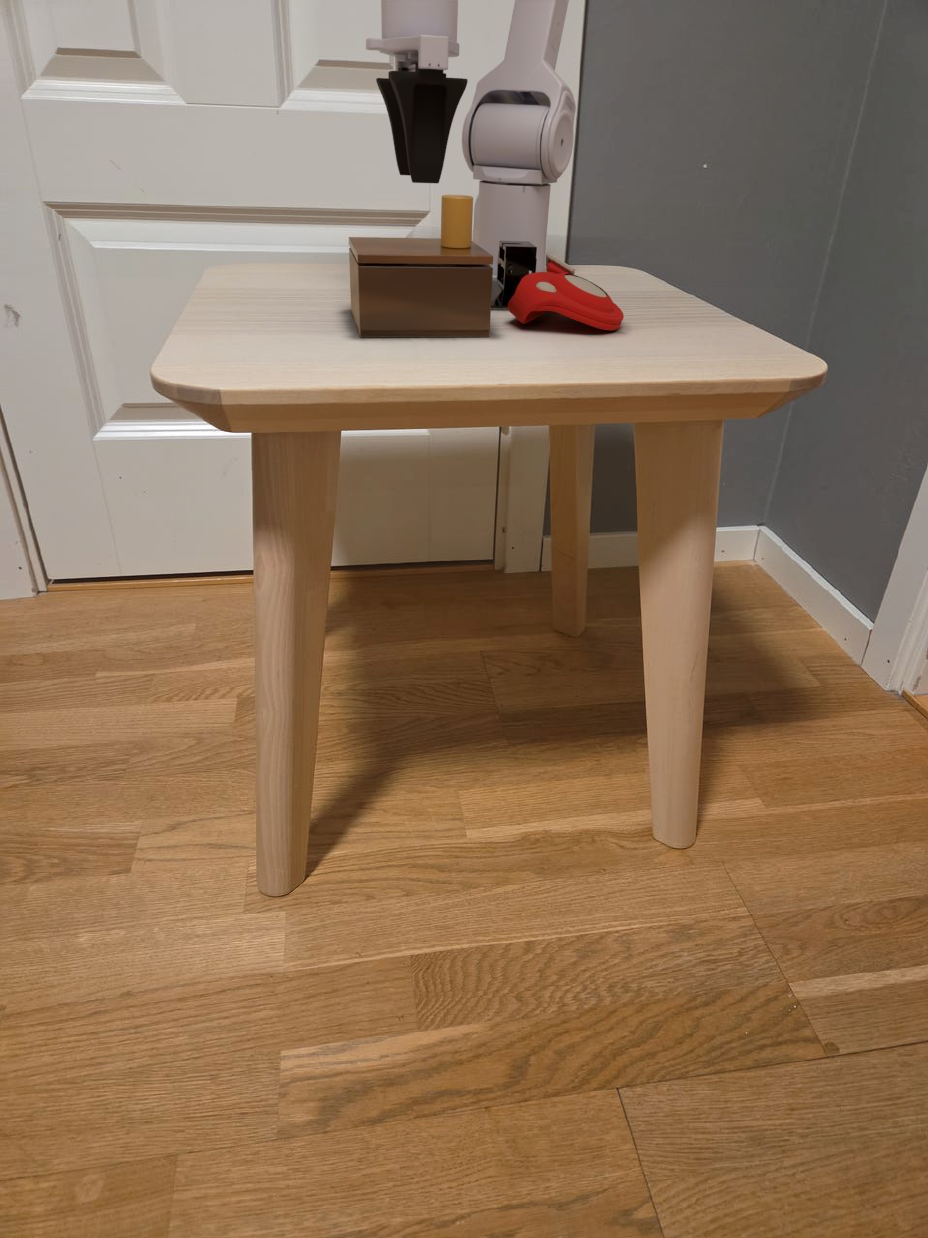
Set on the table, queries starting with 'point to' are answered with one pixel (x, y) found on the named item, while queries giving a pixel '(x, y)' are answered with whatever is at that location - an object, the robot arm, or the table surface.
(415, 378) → the table surface
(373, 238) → the slide lid
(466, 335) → the walnut box
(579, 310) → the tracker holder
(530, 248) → the black rack
